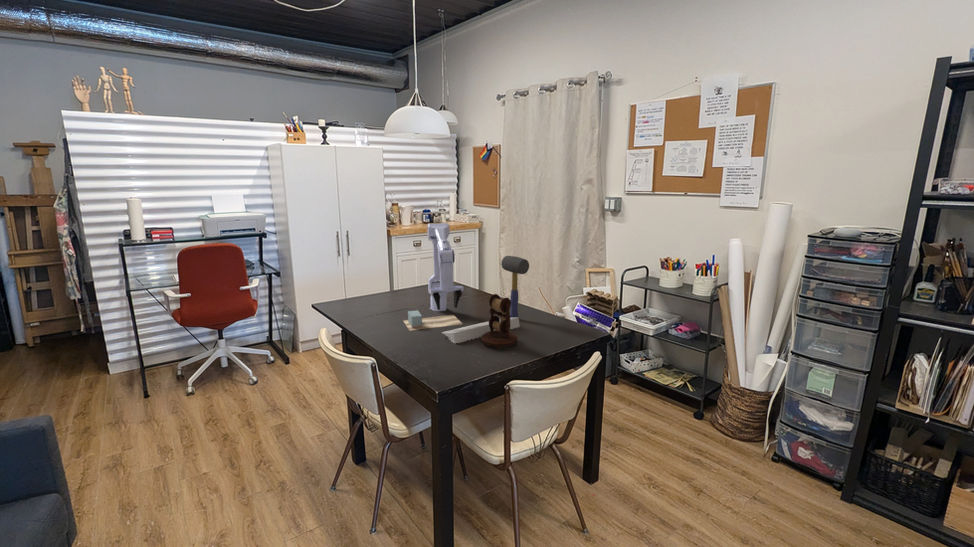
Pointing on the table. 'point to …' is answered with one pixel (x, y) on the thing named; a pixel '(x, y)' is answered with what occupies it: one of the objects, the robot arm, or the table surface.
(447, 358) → the table surface
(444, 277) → the robot arm
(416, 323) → the block
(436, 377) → the table surface
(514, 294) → the rubber mallet
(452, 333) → the decorative molding
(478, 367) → the table surface
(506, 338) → the wooden spool holder
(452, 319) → the birch board
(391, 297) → the table surface
